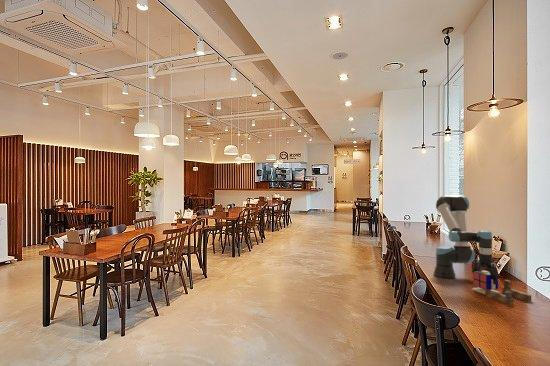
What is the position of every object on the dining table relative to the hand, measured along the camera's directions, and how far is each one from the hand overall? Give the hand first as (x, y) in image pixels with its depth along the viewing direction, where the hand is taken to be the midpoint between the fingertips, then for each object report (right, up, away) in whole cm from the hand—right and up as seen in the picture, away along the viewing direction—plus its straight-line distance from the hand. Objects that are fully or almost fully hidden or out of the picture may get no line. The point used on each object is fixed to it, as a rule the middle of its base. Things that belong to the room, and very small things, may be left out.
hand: (485, 286), depth 208 cm
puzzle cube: (0, -1, 0) cm, 1 cm away
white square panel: (0, -4, 0) cm, 4 cm away
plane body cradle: (+5, -4, -13) cm, 14 cm away
